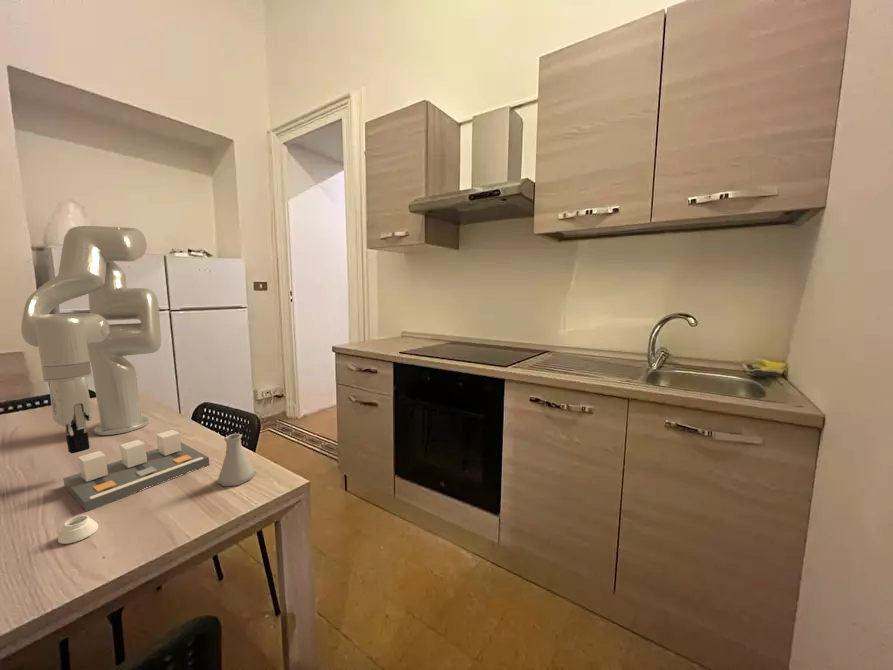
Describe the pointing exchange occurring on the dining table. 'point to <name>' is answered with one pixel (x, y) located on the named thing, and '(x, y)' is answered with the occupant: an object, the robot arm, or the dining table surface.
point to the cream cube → (168, 442)
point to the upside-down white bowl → (77, 529)
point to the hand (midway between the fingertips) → (79, 450)
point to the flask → (235, 463)
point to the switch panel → (133, 476)
